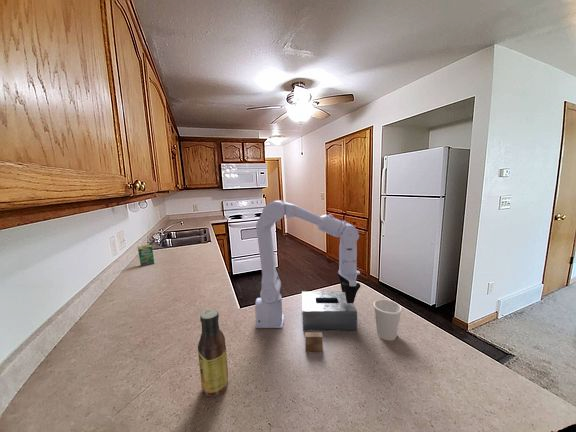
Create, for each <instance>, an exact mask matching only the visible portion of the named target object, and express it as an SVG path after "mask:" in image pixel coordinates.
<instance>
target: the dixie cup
mask: <svg viewBox="0 0 576 432" xmlns="http://www.w3.org/2000/svg"><path fill="white" fill-rule="evenodd" d="M373 309H374V315H375V316H374V317H375V325H376V334H377V336H378V337H379V338H380V339H382V340H385V341H389V342H390V341H394V340H396V339H397V335H398V330H399V324H400V320H401V315H402V314H401V313H402V311H403V308H402V306H401V305H400V304H399V303H397V302H396V301H393V300H391V299H378V300H375V301H373Z"/></svg>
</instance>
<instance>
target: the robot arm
mask: <svg viewBox="0 0 576 432" xmlns="http://www.w3.org/2000/svg"><path fill="white" fill-rule="evenodd" d="M284 216H285V219H288V218H294V217H295V218H298V219H300V220H303V221H306V222H307V223H308V222H309V223H311V224H312V225H313V224H314V225H316V226H317V229H318V230H319V231H320V232H324V233H326V234H328V235H330V236H333V237H335V238H339V247H338V248H339V249H338V251H339V253H338V256H339V258H338V260H339V261H338V267H339V269H338V271H336V275H337V276H338V279H339V283H340V289H341V291H342V292H345V295H346V301H347V303H353V304H354V303H355V299H356V296H357V293H358V291H359V290H360V288H361V284H360V283H359V282H357V276H358V275H360V274H361V272H360V270H357V269H358V268H357V266H358V264H357V263H358V261H357V258H358V257H357V256H358V252H357V250H358V246H357V243H358V240H359V238H360V234H359V230H358V229H357V228H356V227H355V226H354V225H353V224H350V222H347V221H346V220H344V219H343V220H340V219H338V218H336V217H334V215H333V214H331V213H329V214H323V215H318V214H316V213H315V212H312V211H310V210H308V209H306V208H304V207H302V206H300V205H297V204H294V203H291V202H287V201H284V200H281V199H275V200H273V201H271V202H269V203H268V204H266V205H265V206H264V207H263V209H262V212H261V214H260V216H259V217H258V220H257V221H256V228H255V229H256V234H257V236H256V237H257V242H258V243H257V244H258V251H259V252H258V253H259V258H260V266H261V275H262V276H261V283H260V284H261V290H260V292H259V296H260V297H257V298H256V299H255V303H254V304H255V306H254V310H255V311H254V313H255V328H256V329H283V327H284V320H285V314H284V313H283V304H282V303H283V301H282V298H283V297H282V294H281V293H280V290H281V287H282V281H281V279H280V278H279V274H278V272H277V266H276V259H275V252H274V243H273V242H274V241H273V235H272V227H273V226H274V225H275V224H276V222H277V223H278V222H279V221H280V220H282V219H283V218H284Z"/></svg>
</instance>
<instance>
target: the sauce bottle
mask: <svg viewBox="0 0 576 432" xmlns="http://www.w3.org/2000/svg"><path fill="white" fill-rule="evenodd" d="M199 317H200V318H199V321H200V323H201V334H200V339H199V341H198V344H197V354H198V355H197V356H198V364H199V374H200V376H199V377H200V385H201V389H202V392H203V395H205V396H206V397H210V398H215V397H218V396H220V395H221V394H223V393H224V392H225V390H226V388H227V387H228V384H229V383H228V382H229V371H228V358H227V346H226V345H227V344H226V338H225V337H226V336H225V334H224V333H223V331H222V330H221V329H220V325H219V324H220V323H219V317H220V316H219V311H218V310H217V309H216V308H209V309H206V310H204V311H203V312H201V313H200V315H199Z"/></svg>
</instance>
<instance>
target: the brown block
mask: <svg viewBox="0 0 576 432" xmlns="http://www.w3.org/2000/svg"><path fill="white" fill-rule="evenodd" d="M323 339H324V338H323V332H320V331H319V332H316V331H315V332H313V331H312V332H310V331H309V332H306V331H305V332H304V342H305V343H304V345H305V346H304V348H305V353H318V354H319V353H324V348H323V346H324V344H323V343H324V342H323V341H324V340H323Z"/></svg>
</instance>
